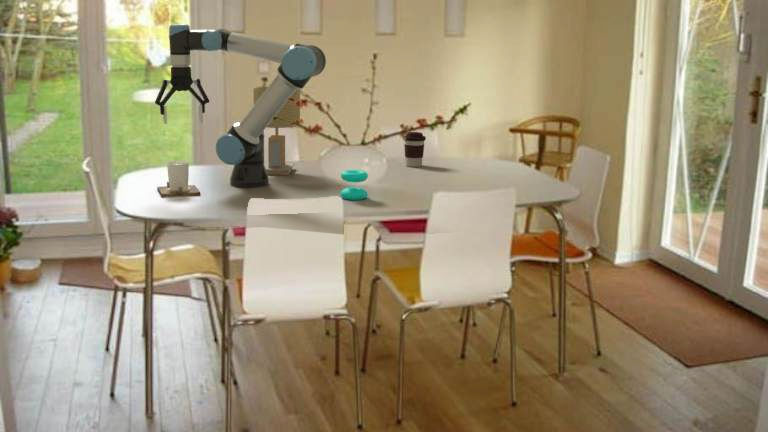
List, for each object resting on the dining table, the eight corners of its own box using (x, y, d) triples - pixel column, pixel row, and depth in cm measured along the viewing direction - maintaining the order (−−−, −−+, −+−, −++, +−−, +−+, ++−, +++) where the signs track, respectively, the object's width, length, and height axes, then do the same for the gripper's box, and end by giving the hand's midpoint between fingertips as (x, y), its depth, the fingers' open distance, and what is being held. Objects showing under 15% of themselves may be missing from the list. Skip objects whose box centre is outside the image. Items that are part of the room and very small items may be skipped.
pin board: (194, 188, 347) (194, 179, 347) (200, 195, 335) (200, 186, 334) (157, 189, 343) (157, 181, 342) (161, 197, 330) (161, 188, 329)
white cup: (168, 191, 334) (167, 164, 331) (167, 187, 341) (166, 161, 339) (190, 190, 336) (189, 164, 333) (188, 186, 343) (188, 160, 341)
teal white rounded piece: (345, 168, 340) (371, 170, 338) (345, 194, 343) (370, 196, 340) (337, 172, 331) (363, 174, 328) (337, 199, 333) (362, 201, 331)
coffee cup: (400, 166, 404) (401, 133, 400) (406, 163, 413) (407, 130, 410) (421, 168, 401) (422, 134, 398) (427, 165, 410) (428, 132, 407)
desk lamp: (297, 176, 376) (297, 91, 368) (250, 175, 376) (249, 90, 368) (302, 168, 395) (302, 87, 387) (257, 167, 395) (257, 86, 387)
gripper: (210, 64, 348) (212, 119, 353) (145, 66, 338) (148, 122, 342) (215, 66, 341) (217, 122, 346) (149, 67, 331) (152, 125, 336)
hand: (183, 122), depth 344 cm, fingers open, 13 cm apart
